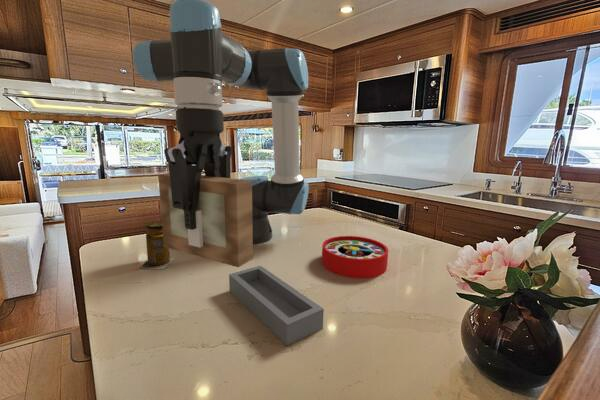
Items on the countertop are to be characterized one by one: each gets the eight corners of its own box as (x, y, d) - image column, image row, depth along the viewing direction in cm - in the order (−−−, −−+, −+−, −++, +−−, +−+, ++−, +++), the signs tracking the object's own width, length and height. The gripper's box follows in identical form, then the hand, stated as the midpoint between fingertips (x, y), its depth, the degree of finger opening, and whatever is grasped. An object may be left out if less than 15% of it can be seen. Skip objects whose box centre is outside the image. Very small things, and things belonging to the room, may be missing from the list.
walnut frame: (163, 246, 58) (157, 174, 55) (181, 240, 62) (176, 172, 59) (238, 267, 50) (236, 184, 47) (253, 258, 54) (252, 180, 51)
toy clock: (326, 233, 105) (386, 239, 101) (326, 249, 106) (384, 255, 102) (317, 255, 86) (391, 263, 82) (317, 274, 87) (389, 283, 83)
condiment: (175, 257, 95) (172, 221, 93) (164, 269, 87) (161, 229, 84) (151, 257, 95) (148, 220, 92) (138, 269, 87) (134, 229, 84)
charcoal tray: (229, 290, 76) (229, 274, 75) (260, 281, 81) (260, 265, 80) (287, 346, 57) (287, 324, 56) (322, 328, 62) (323, 308, 61)
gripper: (172, 103, 41) (183, 262, 46) (249, 111, 56) (251, 231, 61) (136, 104, 44) (150, 253, 50) (218, 112, 59) (222, 225, 65)
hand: (206, 240), depth 55 cm, fingers closed on walnut frame, 4 cm apart
